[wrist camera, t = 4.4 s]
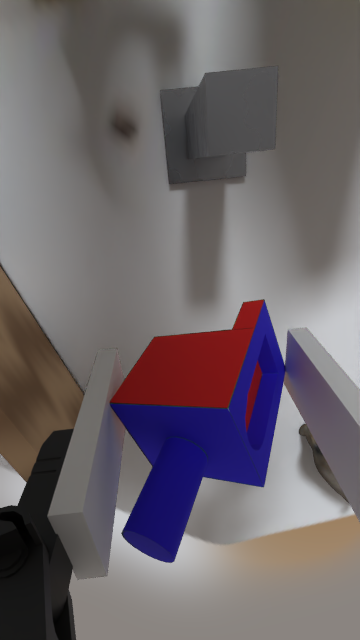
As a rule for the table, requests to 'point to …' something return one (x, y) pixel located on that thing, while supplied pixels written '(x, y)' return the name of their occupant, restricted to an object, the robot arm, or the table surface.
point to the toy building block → (199, 420)
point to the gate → (30, 385)
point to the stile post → (219, 123)
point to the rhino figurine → (321, 462)
